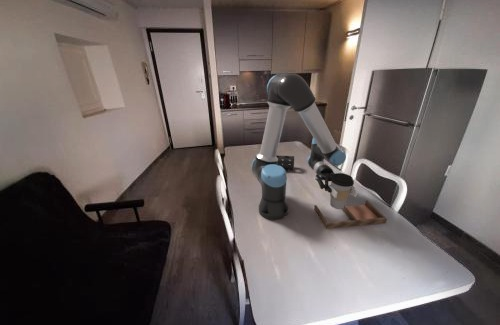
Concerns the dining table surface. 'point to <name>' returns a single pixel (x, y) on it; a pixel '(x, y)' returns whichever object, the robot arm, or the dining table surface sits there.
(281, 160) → the muzzle brake
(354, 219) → the divided wooden tray
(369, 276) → the dining table surface
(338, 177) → the coffee cup
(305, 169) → the dining table surface
